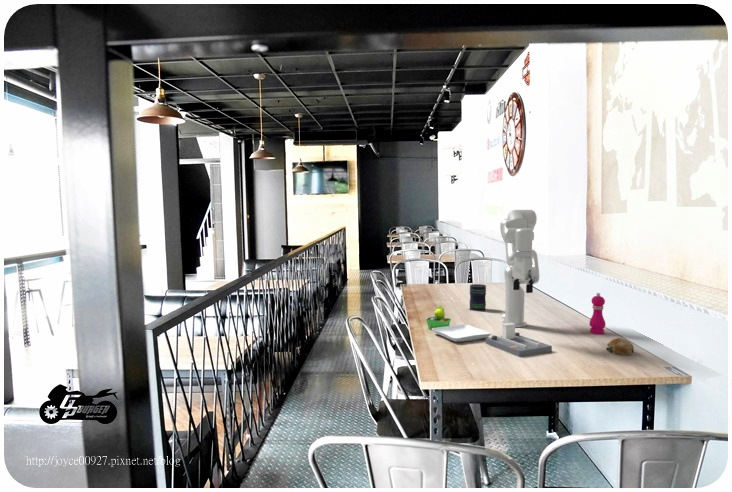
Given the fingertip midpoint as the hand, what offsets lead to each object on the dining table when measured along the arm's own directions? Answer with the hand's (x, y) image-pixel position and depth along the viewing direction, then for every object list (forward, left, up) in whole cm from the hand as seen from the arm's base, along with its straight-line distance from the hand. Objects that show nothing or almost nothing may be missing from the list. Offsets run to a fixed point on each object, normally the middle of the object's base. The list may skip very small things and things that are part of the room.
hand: (522, 291), depth 226 cm
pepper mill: (+6, +43, -23) cm, 49 cm away
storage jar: (-65, +24, -23) cm, 73 cm away
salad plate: (-16, -23, -23) cm, 37 cm away
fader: (+4, -11, -20) cm, 24 cm away
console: (+10, -11, -23) cm, 28 cm away
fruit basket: (-34, -24, -23) cm, 48 cm away
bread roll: (+34, +23, -23) cm, 47 cm away
